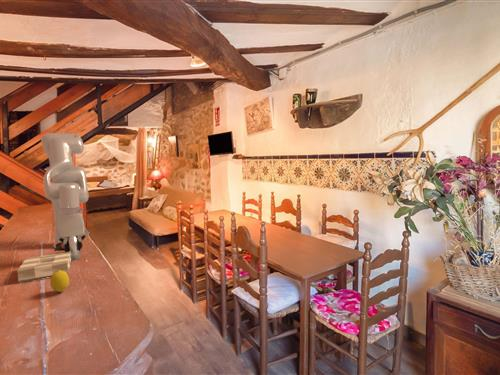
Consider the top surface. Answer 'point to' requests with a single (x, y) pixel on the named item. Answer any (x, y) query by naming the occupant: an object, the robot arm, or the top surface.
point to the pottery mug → (61, 247)
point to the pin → (73, 247)
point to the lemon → (59, 281)
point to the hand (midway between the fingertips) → (73, 250)
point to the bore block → (43, 266)
